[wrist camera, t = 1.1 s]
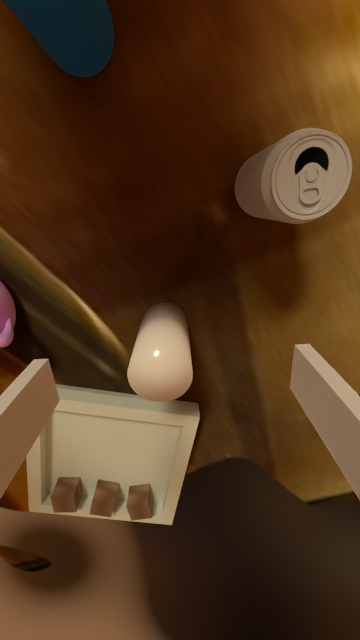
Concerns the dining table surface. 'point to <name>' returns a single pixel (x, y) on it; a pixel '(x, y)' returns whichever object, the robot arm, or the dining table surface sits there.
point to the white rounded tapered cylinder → (161, 354)
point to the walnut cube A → (66, 494)
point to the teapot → (6, 316)
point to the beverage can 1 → (70, 31)
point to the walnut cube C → (140, 502)
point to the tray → (113, 449)
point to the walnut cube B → (104, 498)
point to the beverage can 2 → (295, 177)
